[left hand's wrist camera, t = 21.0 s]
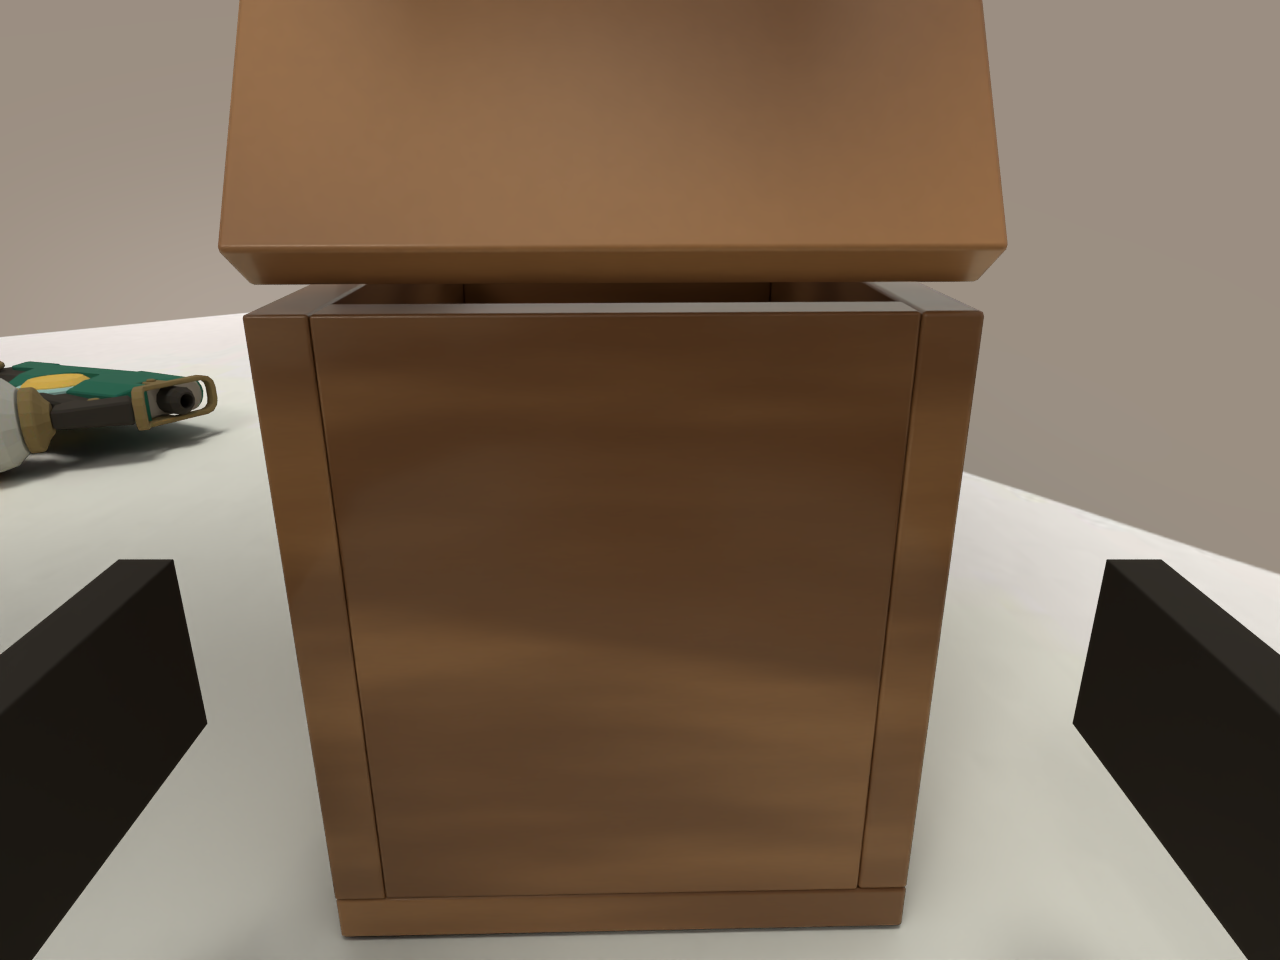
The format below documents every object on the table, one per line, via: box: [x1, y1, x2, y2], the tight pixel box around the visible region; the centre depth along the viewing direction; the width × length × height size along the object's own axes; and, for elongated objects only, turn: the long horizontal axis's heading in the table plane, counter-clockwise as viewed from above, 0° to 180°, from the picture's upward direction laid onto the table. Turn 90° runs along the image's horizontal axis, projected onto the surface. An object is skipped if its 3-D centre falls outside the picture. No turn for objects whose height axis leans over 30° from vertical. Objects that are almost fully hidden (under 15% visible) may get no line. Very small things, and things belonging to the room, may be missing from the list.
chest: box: [243, 282, 984, 936], centre depth 20 cm, size 13×10×11 cm
